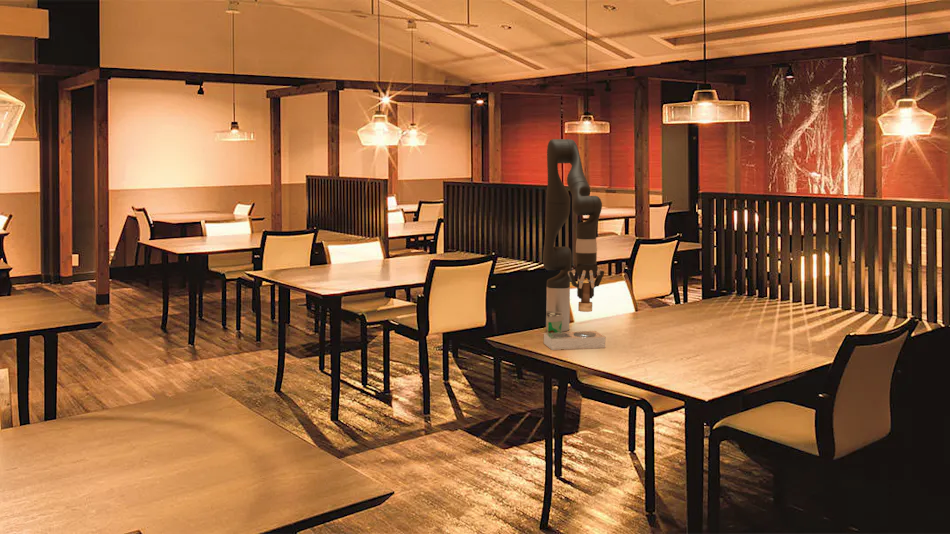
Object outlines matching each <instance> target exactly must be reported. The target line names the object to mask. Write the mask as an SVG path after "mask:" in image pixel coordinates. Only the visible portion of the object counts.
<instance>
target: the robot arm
mask: <svg viewBox="0 0 950 534" xmlns="http://www.w3.org/2000/svg"><path fill="white" fill-rule="evenodd" d="M546 161H547V162H546V163H547V164H546V165H547V169H546V170H547V187H546V189H547V190H546V200H545V201H546V205H545V218H546V219H545V235H544V245H543V253H542V263H543V264H542V265H543V268H544V269H545V270H547V271H560V272H559V273H558V274H556V275H555V276H553V277H550V278H548V279H547V280H546V302H545V303H546V307H545V308H546V309H545V310H546V314H547V311H555V312H560V313H562V315H563V317H564V320H563V321H562V327H561V332H569V331H570V315H571V314H570V309H571V307H570V305H571V304H570V302H571V299H570V298H571V296H570V295H571V292H570V291H571V285H572V287H575V288H577V290H576V295H577V297H578V299H580V300H581V299H582V285H583V283H585V282H584V280H586V279H587V283H590V299H593V297H594V296H595V288H596V287H599V286H600V284H601V282H602V279H603V277H604V274H605V271H603V270H602V269H599V268H598V266H597V261H598V260H597V257H598V245H597V243H598V241H597V229H598V223H599V219H600V217H601V213H602V208H603V201H602V200H601V198H600V196H597V195H591V188H590V185H589V183H588V181H587V178H586V176H585V173H584V170H583V169H584V168H583V165H582V160H581V155H580V152H579V147H578V145H577V142H576V141H575V140H574V139H570V138H563V139H562V138H561V139H560V138H559V139H557V138H553V139H550V140H549V141H548V143H547V148H546ZM559 164H570V165H571V167H570V170H569V172H568V174H567V177H566V183H567V187H568V189H569V191H568V190H567V188H566V186H565V185H564V183H563V181H562V179H561V176H560V174H559V167H558V166H559ZM570 193H571V196H570ZM571 200H572V204H571ZM571 206H572V211H573V213H574V214H575V215H577V216H588V218H587V220H585V221H581V222H578V223H577V225H576V242H575V267H574V268H573V269H572V257H573V256H572V250H571V248H570V247H569V246H555V242H556V238H557V236H558V234H559V232H560V230H561V229H562V227H563V226H564V224H565V223H566V222H567V220H568V218H569V217H570V213H571V212H570V211H571ZM575 275H577V281H576V279H575ZM595 275H597V276H596V278H594V276H595ZM594 279H595V280H594ZM546 325H547V316H546V315H545V326H546Z"/></svg>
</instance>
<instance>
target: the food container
mask: <svg viewBox="0 0 950 534" xmlns="http://www.w3.org/2000/svg"><path fill="white" fill-rule="evenodd" d="M546 316H547V325H546V324H545V330H546V331H545V333H552V332H561V327H562V321H563V320H564V317H563V315H562V313H560V312H555V311H547V314H546V315H545V317H546Z"/></svg>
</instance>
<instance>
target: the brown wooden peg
mask: <svg viewBox="0 0 950 534" xmlns="http://www.w3.org/2000/svg"><path fill="white" fill-rule="evenodd" d="M578 312H581V313H589V312H593V301H591V298H590V283H589V282H583V285H582V299H580V301H579V302H578Z"/></svg>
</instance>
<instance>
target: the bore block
mask: <svg viewBox="0 0 950 534" xmlns="http://www.w3.org/2000/svg"><path fill="white" fill-rule="evenodd" d="M543 344H544V345H545V346H547V347H548V349H550V350H551V351H557V350H561V349H564V350H583V349H584V350H585V349H586V350H587V349H605V348H606V336H605V335H603V334H601V333H600V332H598V331H597V330H588V331H587V330H584V331H583V330H582V331H580V330H579V331H562V332H552V333H546V332H543ZM561 351H562V350H561Z"/></svg>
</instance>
